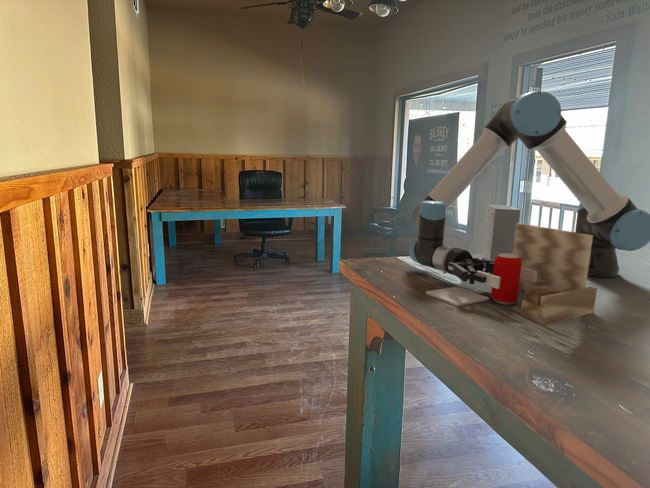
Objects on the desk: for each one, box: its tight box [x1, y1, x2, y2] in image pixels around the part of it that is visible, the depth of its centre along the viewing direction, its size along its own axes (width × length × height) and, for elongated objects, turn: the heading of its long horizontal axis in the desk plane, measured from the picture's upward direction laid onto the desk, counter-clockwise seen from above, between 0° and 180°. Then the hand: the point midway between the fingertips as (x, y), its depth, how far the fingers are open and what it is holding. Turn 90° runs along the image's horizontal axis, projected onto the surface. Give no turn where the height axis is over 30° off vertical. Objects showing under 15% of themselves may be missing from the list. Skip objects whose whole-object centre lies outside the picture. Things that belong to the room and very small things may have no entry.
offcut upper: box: [524, 286, 561, 305], centre depth 103 cm, size 4×6×3 cm, turn 106°
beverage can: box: [490, 253, 522, 306], centre depth 111 cm, size 6×6×12 cm
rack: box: [513, 222, 598, 326], centre depth 110 cm, size 23×18×18 cm
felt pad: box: [425, 286, 490, 307], centre depth 115 cm, size 11×11×1 cm
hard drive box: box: [482, 204, 522, 260], centre depth 147 cm, size 16×8×20 cm, turn 168°
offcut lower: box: [520, 299, 540, 321], centre depth 103 cm, size 5×7×4 cm
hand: (518, 279), depth 108 cm, fingers open, 12 cm apart
